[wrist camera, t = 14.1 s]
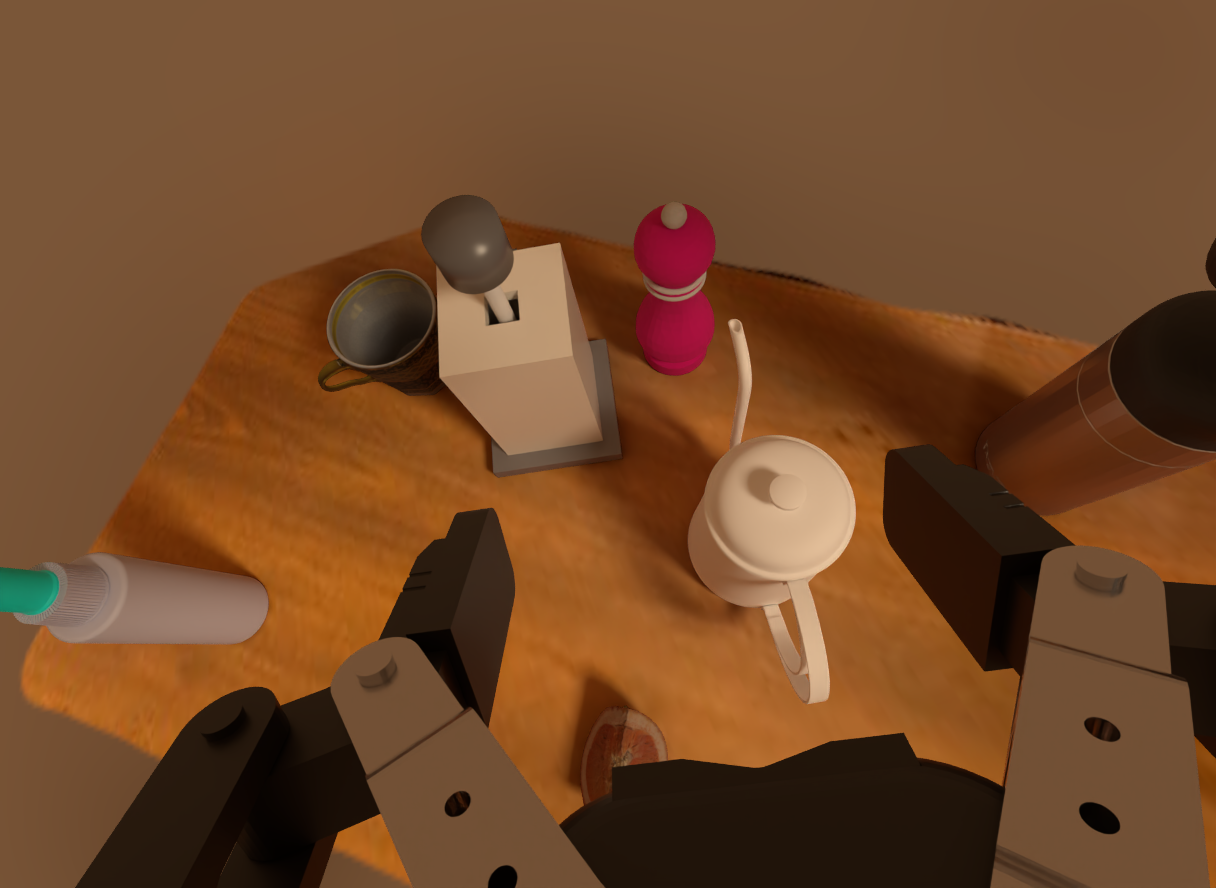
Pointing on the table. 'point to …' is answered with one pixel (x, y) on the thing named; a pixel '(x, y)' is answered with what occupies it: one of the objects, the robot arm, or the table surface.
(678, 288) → the pepper mill
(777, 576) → the coffeepot
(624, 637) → the table surface
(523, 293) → the dispenser
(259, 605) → the spray bottle
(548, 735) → the table surface
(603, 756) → the fruit slice
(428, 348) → the ceramic cup
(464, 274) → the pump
